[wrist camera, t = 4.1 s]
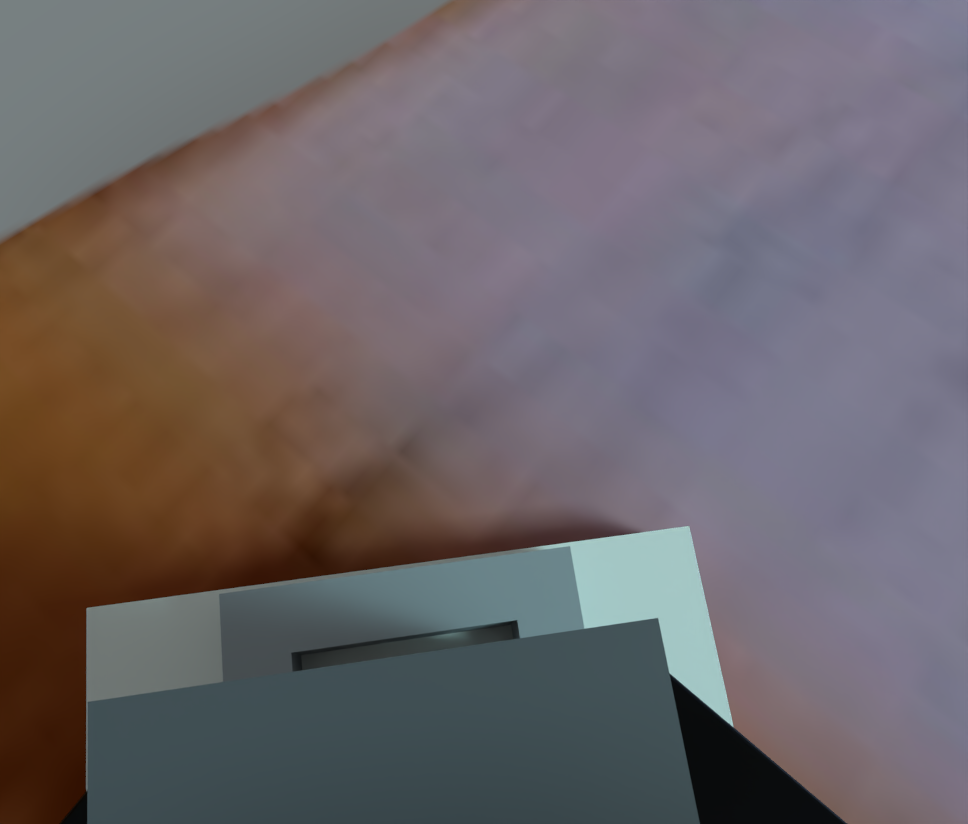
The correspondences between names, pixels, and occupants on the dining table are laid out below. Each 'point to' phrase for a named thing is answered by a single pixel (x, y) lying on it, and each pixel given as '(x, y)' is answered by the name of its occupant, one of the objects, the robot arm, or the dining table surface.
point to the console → (410, 616)
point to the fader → (409, 740)
